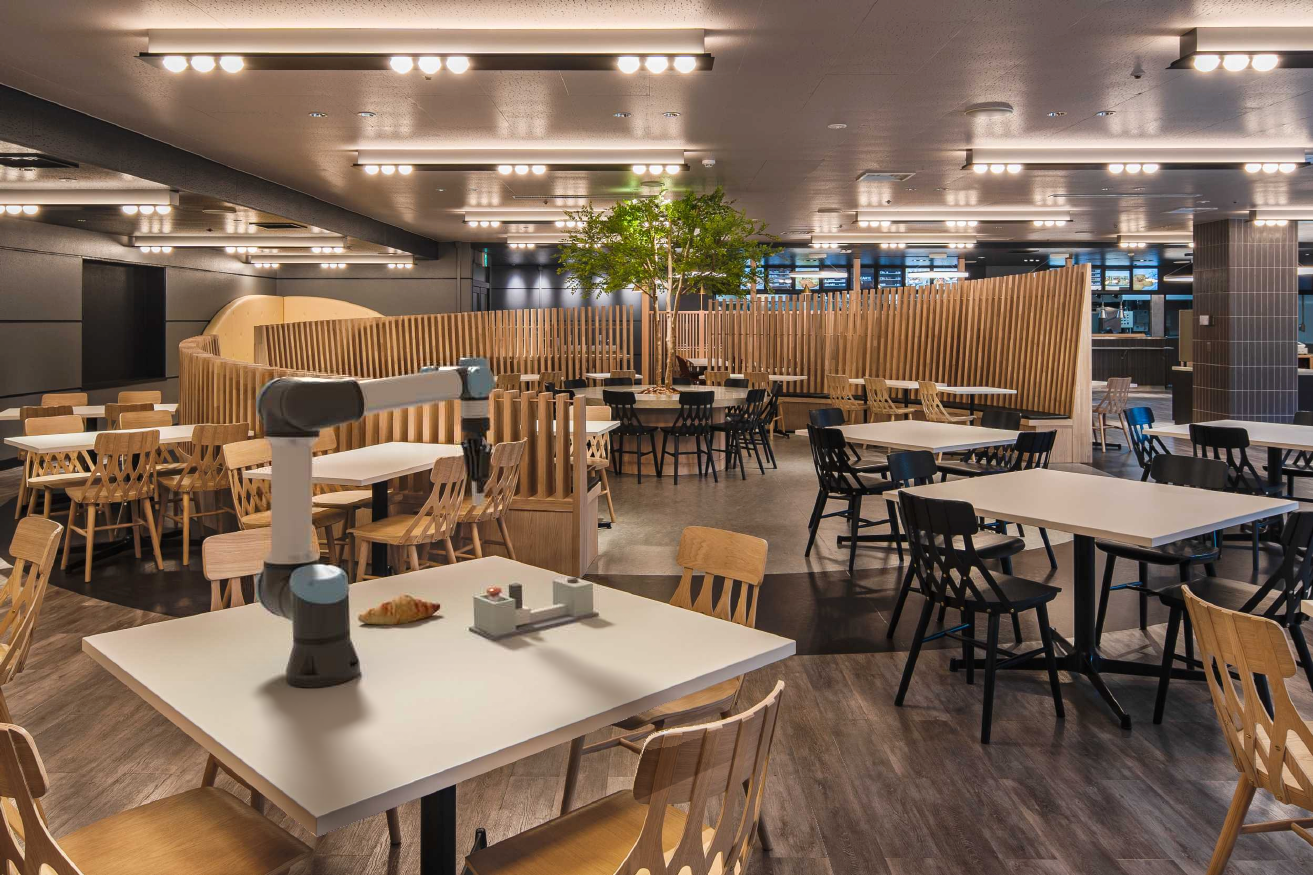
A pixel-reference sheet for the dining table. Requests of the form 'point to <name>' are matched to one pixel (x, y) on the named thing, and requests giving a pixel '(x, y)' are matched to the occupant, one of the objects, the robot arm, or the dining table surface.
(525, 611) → the block
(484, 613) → the rail fixture
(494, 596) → the ball
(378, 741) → the dining table surface
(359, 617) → the croissant
